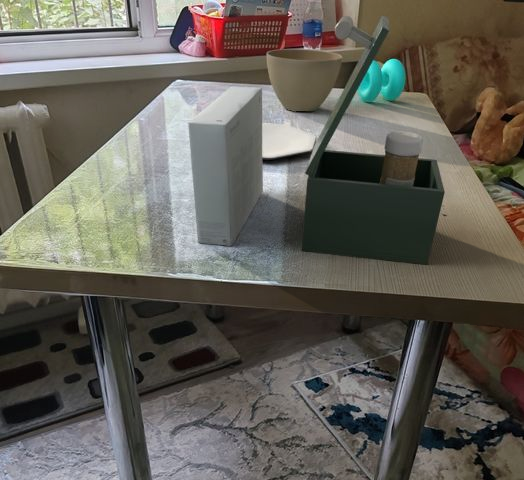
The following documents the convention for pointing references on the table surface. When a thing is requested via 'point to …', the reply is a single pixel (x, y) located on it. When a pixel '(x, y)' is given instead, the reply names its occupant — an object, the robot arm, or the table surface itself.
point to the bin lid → (372, 47)
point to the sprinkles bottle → (401, 158)
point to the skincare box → (226, 163)
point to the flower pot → (302, 76)
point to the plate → (285, 141)
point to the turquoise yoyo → (383, 81)
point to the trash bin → (371, 209)
